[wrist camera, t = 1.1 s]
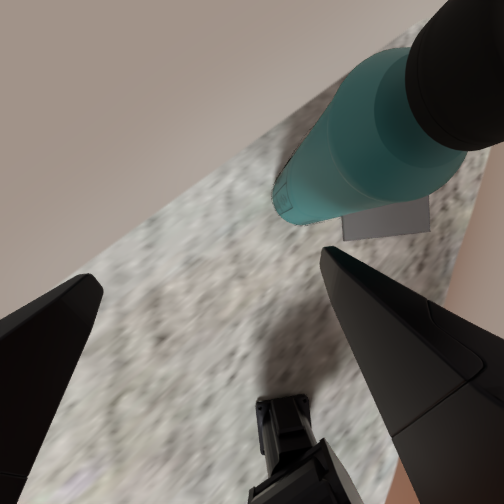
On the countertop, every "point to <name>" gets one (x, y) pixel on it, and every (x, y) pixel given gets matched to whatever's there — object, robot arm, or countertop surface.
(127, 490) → the countertop surface
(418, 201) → the mat
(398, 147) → the beverage bottle
